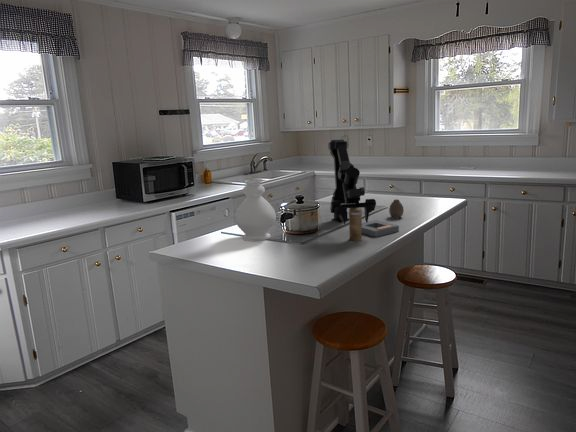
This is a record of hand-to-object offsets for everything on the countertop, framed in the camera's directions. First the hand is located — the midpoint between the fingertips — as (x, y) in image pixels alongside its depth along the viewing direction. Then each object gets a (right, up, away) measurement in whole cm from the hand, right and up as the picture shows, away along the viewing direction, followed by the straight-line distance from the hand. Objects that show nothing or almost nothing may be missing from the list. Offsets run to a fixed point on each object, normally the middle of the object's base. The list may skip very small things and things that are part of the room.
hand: (355, 222), depth 191 cm
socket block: (+11, -4, +14) cm, 18 cm away
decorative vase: (-42, -7, +12) cm, 44 cm away
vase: (+25, +2, +38) cm, 45 cm away
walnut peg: (0, -7, +3) cm, 7 cm away
